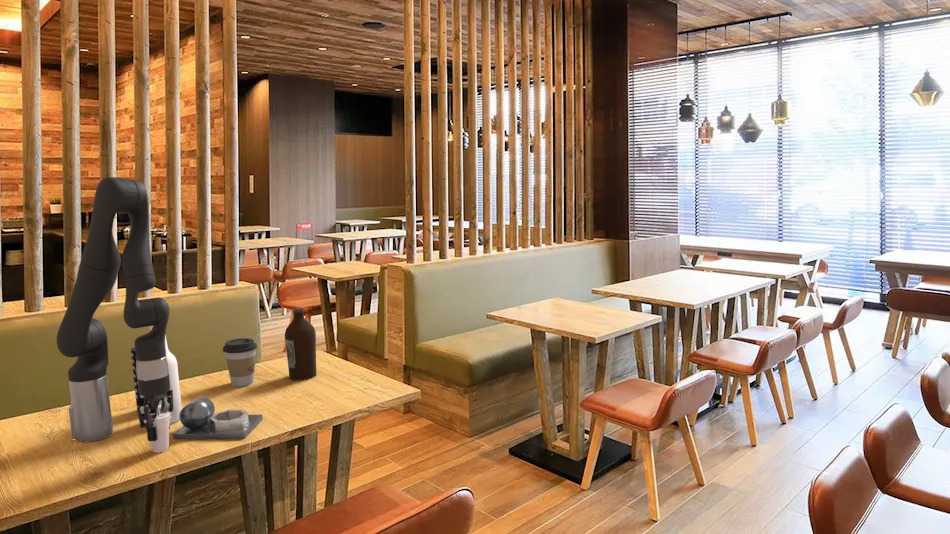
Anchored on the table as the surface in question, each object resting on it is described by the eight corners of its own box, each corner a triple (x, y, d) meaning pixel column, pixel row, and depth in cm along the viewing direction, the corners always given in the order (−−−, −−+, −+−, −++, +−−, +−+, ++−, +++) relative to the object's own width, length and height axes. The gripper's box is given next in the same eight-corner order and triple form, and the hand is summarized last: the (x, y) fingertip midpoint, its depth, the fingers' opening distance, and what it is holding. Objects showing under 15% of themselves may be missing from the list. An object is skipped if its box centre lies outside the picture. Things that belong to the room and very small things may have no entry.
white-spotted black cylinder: (171, 409, 206) (165, 347, 203) (143, 417, 200) (136, 353, 197) (160, 403, 212) (154, 342, 209) (133, 410, 206) (126, 348, 203)
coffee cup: (253, 388, 224) (250, 345, 222) (220, 389, 224) (216, 346, 222) (264, 377, 235) (261, 336, 233) (232, 378, 235) (229, 337, 233)
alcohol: (159, 415, 201) (149, 319, 197) (187, 415, 201) (178, 318, 196) (144, 426, 192) (133, 326, 188) (173, 426, 192) (163, 325, 188)
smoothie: (163, 456, 172) (158, 404, 170) (141, 454, 173) (136, 403, 171) (179, 445, 178) (174, 395, 176) (158, 444, 179) (152, 394, 177)
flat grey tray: (173, 439, 182) (170, 409, 181) (196, 420, 196) (193, 392, 195) (244, 438, 182) (242, 408, 180) (262, 419, 195) (260, 391, 194)
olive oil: (311, 369, 243) (307, 303, 240) (322, 376, 235) (318, 307, 231) (283, 375, 237) (278, 307, 234) (293, 383, 229) (289, 312, 225)
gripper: (153, 366, 180) (159, 425, 182) (123, 383, 165) (130, 447, 168) (180, 366, 179) (185, 424, 182) (153, 383, 165) (159, 446, 168)
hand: (159, 435), depth 175 cm, fingers closed on smoothie, 6 cm apart
